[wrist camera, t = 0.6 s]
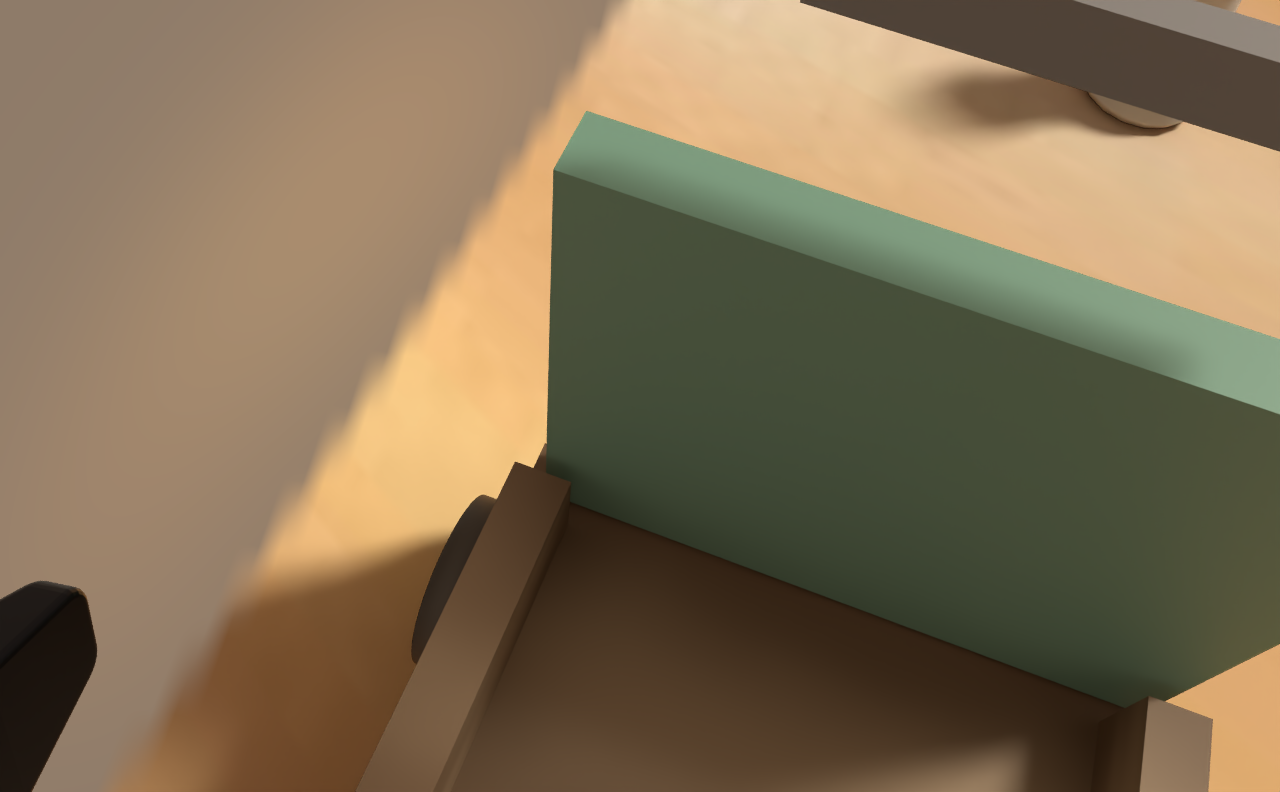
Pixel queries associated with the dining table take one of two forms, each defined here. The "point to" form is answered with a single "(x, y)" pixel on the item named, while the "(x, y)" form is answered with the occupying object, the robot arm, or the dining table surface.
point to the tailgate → (934, 378)
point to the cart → (721, 680)
